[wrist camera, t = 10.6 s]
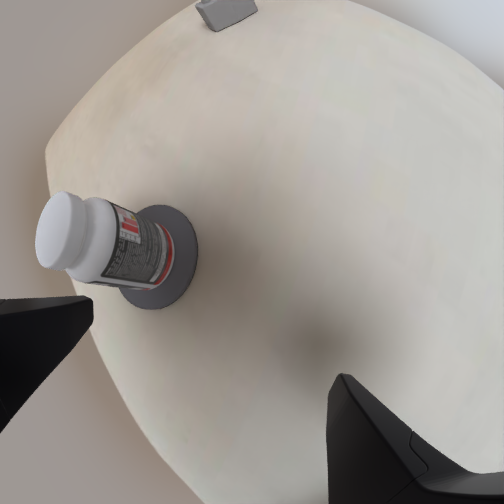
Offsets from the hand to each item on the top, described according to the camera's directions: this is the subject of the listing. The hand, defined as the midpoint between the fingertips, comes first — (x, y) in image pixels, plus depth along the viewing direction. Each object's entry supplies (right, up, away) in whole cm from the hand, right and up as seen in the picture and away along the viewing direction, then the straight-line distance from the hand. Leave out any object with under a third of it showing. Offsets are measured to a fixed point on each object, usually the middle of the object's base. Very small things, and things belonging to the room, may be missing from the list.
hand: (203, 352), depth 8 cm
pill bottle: (-7, +3, +14) cm, 15 cm away
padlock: (-1, +36, +19) cm, 41 cm away
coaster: (-7, +3, +14) cm, 16 cm away
